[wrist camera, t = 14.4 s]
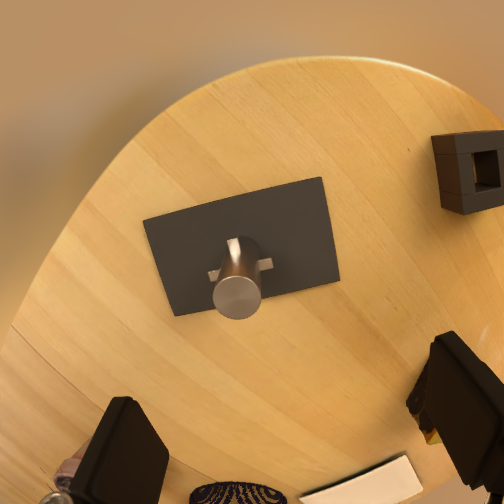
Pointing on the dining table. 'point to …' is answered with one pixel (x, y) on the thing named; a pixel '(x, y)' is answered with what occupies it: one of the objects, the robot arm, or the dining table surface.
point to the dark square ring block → (470, 170)
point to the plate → (372, 486)
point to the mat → (255, 227)
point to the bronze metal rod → (239, 279)
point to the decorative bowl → (208, 488)
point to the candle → (422, 409)
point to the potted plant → (68, 470)
